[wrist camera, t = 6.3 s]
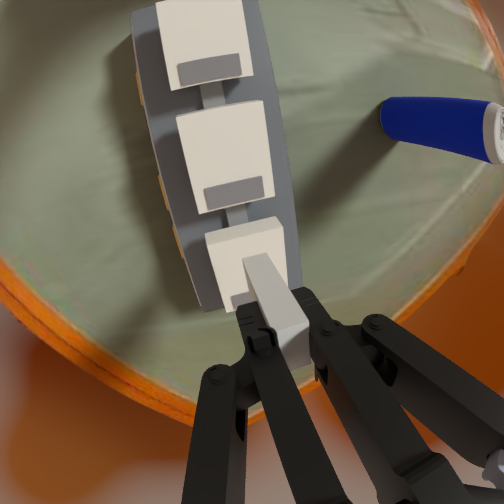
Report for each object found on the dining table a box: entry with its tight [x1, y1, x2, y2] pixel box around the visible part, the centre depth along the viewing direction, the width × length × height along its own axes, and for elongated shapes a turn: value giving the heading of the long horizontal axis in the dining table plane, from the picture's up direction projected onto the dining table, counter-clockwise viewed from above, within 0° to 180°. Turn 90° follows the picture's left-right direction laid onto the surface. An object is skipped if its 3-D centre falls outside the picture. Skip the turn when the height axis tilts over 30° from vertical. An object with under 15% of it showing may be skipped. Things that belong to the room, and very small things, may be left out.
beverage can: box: [380, 97, 504, 165], centre depth 18 cm, size 5×5×15 cm
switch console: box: [130, 0, 303, 313], centre depth 21 cm, size 28×10×5 cm, turn 10°
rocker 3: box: [205, 216, 288, 313], centre depth 22 cm, size 7×6×2 cm
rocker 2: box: [176, 100, 275, 214], centre depth 18 cm, size 7×6×2 cm
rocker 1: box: [156, 0, 254, 91], centre depth 14 cm, size 7×6×2 cm
